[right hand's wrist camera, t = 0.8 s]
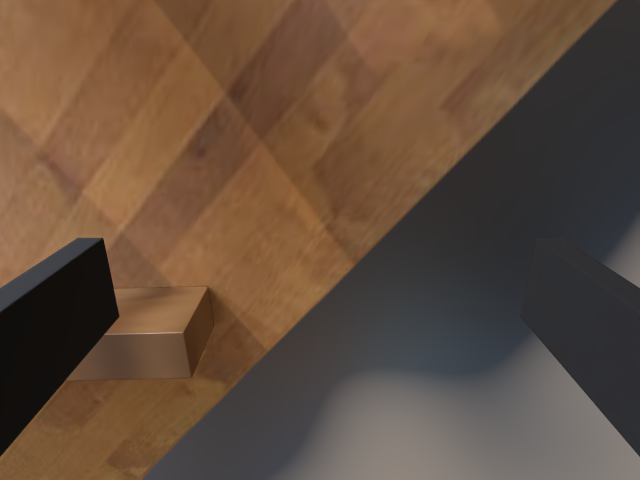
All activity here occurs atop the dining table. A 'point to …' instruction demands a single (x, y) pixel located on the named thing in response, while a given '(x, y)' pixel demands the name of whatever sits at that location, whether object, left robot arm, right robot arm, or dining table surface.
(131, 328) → the post
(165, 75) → the dining table surface
